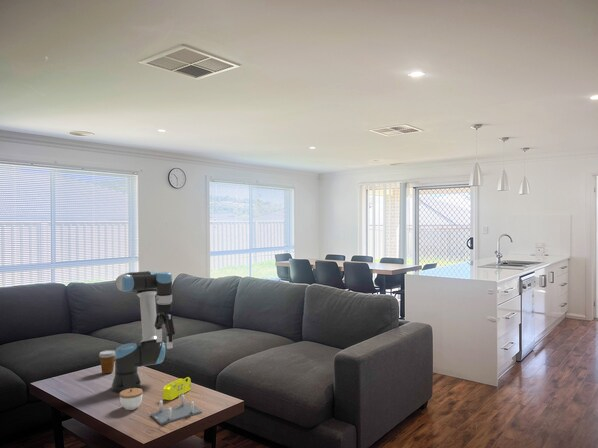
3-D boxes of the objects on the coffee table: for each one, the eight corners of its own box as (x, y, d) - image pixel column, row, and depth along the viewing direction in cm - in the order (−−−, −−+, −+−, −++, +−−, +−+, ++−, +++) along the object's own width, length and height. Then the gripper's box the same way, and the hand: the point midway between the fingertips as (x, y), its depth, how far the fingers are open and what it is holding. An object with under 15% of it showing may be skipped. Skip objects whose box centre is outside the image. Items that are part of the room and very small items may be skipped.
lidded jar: (129, 414, 214) (128, 394, 214) (114, 409, 220) (114, 390, 220) (147, 406, 223) (147, 387, 223) (133, 401, 229) (133, 383, 229)
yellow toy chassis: (171, 402, 228) (171, 385, 228) (162, 400, 231) (162, 384, 231) (191, 391, 243) (191, 375, 243) (183, 389, 245) (182, 374, 245)
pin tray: (150, 415, 212) (150, 402, 212) (190, 404, 224) (190, 392, 224) (161, 425, 202) (161, 411, 202) (202, 413, 214) (201, 400, 214)
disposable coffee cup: (95, 373, 271) (95, 354, 271) (105, 368, 280) (104, 349, 280) (110, 374, 269) (110, 354, 269) (119, 369, 279) (118, 350, 279)
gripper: (148, 300, 233) (148, 340, 234) (166, 308, 214) (166, 352, 215) (162, 298, 238) (162, 338, 239) (181, 306, 219) (181, 349, 219)
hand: (164, 345), depth 227 cm, fingers open, 13 cm apart
